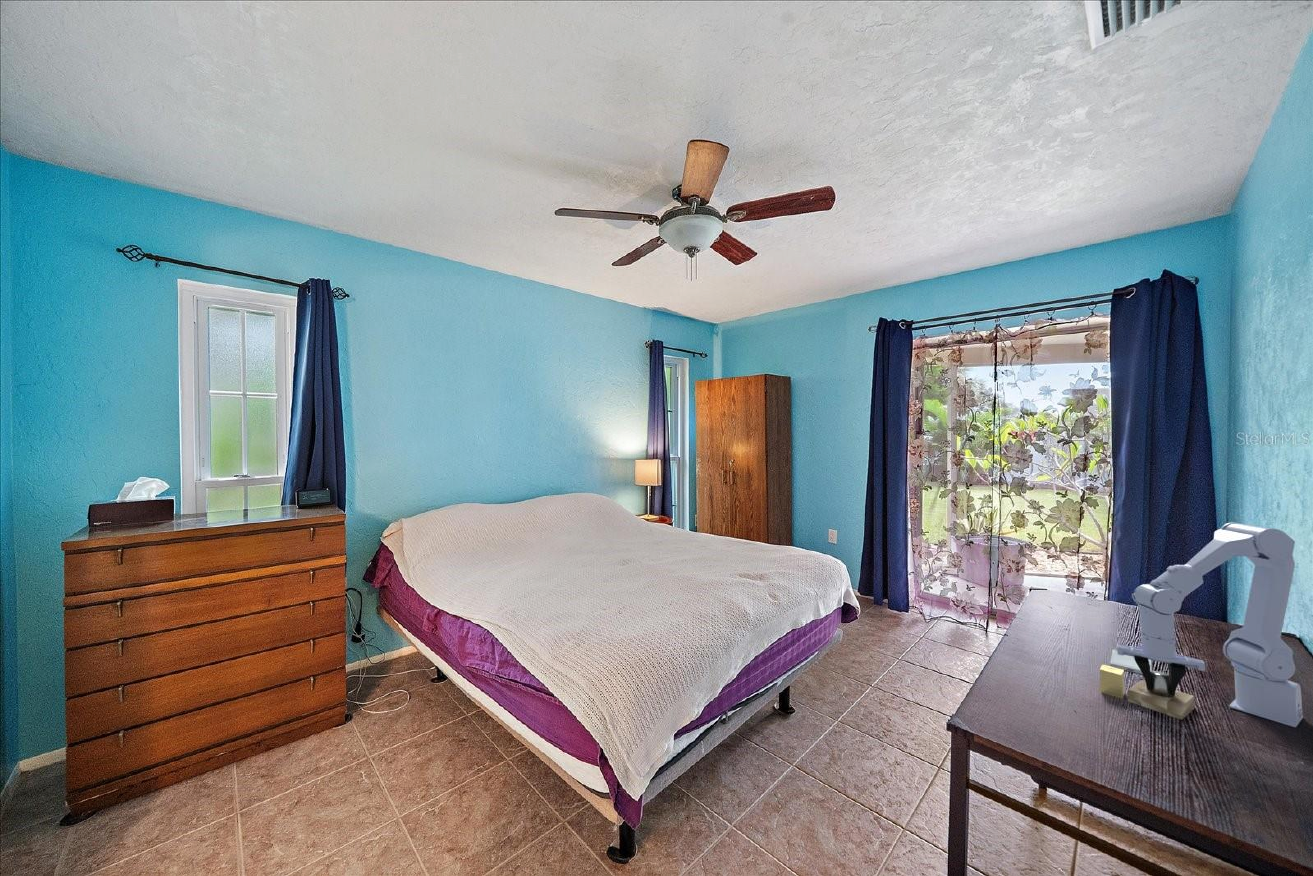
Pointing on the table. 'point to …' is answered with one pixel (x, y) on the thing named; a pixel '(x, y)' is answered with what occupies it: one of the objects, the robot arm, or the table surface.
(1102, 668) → the square bit
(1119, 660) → the hard drive
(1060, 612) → the table surface
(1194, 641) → the table surface
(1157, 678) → the round peg
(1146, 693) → the socket block
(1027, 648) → the table surface
